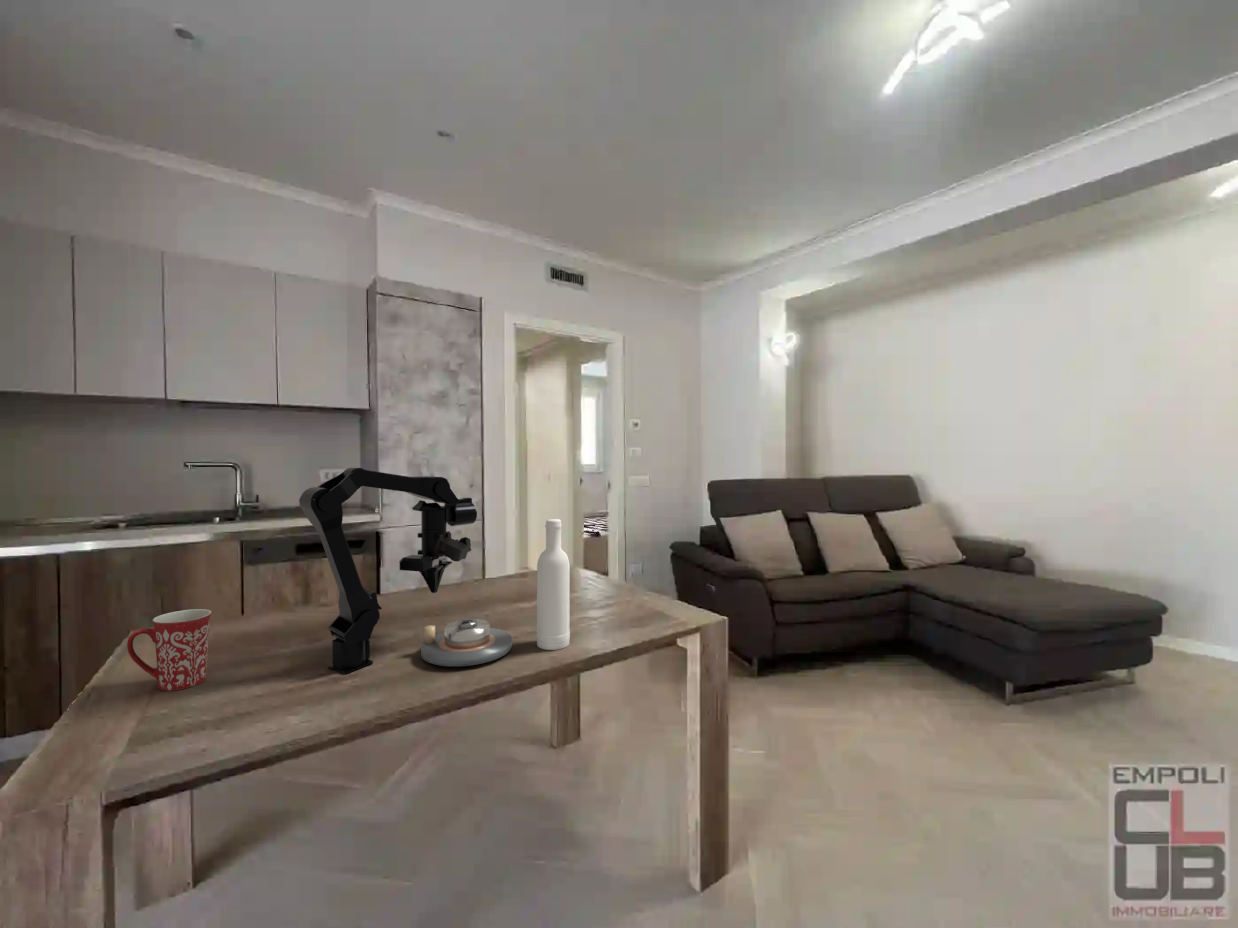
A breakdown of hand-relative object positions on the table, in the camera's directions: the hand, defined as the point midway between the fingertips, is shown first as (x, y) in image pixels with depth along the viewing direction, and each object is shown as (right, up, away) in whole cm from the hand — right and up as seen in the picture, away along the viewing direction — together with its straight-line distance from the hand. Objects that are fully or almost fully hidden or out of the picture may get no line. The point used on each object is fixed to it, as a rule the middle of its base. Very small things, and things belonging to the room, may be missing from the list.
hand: (434, 592), depth 126 cm
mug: (-43, -13, -24) cm, 51 cm away
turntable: (+10, -12, -6) cm, 17 cm away
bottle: (+29, -12, -1) cm, 32 cm away
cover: (+10, -10, -6) cm, 15 cm away
